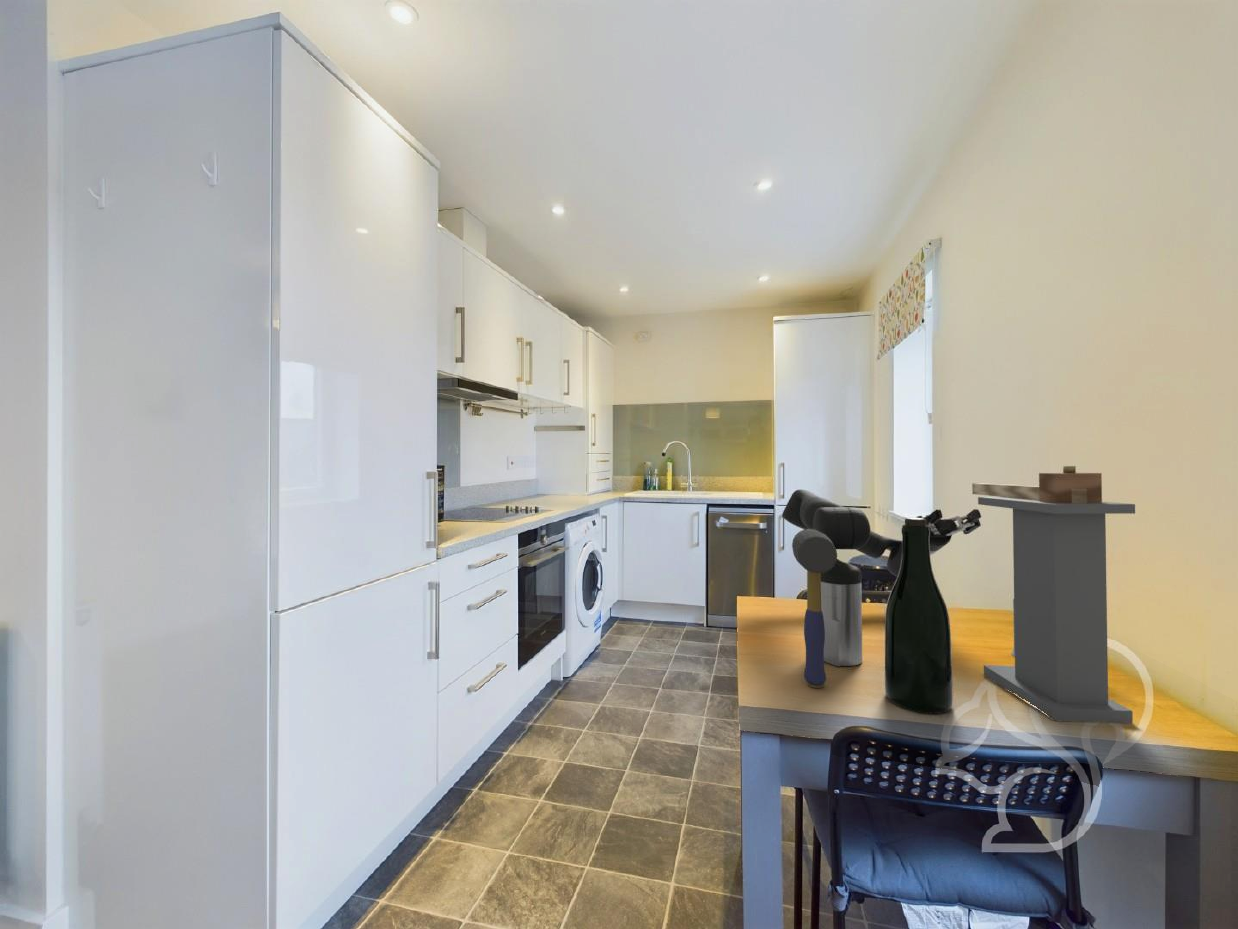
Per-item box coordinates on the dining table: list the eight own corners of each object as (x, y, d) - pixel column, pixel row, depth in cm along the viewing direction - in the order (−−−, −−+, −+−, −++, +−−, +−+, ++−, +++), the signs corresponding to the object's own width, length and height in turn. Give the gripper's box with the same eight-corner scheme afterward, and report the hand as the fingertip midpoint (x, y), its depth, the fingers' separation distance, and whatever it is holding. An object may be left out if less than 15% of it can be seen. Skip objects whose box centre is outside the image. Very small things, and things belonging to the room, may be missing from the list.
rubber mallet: (842, 702, 89) (839, 535, 89) (797, 698, 91) (795, 534, 91) (830, 674, 101) (828, 527, 101) (791, 671, 103) (789, 526, 103)
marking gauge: (1101, 502, 84) (1101, 465, 84) (1057, 503, 84) (1056, 466, 84) (994, 493, 110) (994, 466, 110) (961, 494, 111) (961, 466, 111)
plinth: (1138, 726, 80) (1135, 504, 80) (1058, 723, 81) (1055, 504, 81) (1043, 674, 100) (1041, 496, 100) (980, 673, 101) (978, 497, 101)
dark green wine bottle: (944, 693, 92) (942, 515, 92) (960, 720, 83) (957, 521, 83) (881, 685, 96) (878, 514, 96) (889, 710, 86) (886, 520, 86)
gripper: (960, 551, 129) (996, 527, 115) (903, 551, 131) (931, 527, 117) (951, 525, 133) (985, 498, 119) (896, 525, 134) (923, 498, 120)
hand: (958, 512), depth 118 cm, fingers open, 8 cm apart
